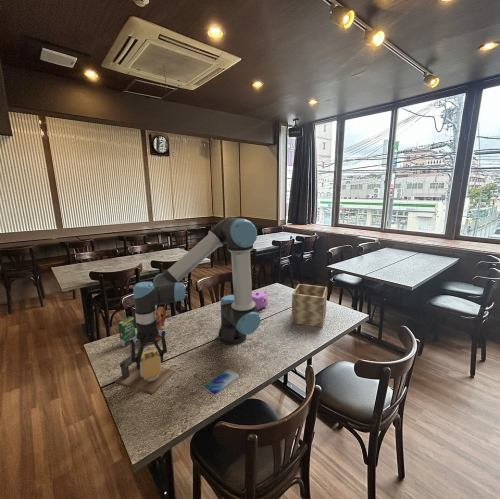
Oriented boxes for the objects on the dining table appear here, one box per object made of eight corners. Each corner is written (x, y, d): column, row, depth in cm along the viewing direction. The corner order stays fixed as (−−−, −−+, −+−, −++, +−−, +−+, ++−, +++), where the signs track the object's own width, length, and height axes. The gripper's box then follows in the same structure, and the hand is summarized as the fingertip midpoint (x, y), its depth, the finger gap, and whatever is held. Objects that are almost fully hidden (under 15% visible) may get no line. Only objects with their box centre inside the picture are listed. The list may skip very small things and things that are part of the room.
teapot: (267, 312, 175) (267, 296, 173) (247, 312, 176) (246, 296, 173) (267, 303, 190) (267, 288, 188) (248, 302, 191) (248, 288, 188)
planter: (325, 313, 172) (327, 287, 169) (322, 327, 155) (324, 298, 151) (297, 309, 179) (298, 283, 175) (291, 322, 161) (292, 293, 158)
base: (174, 372, 117) (173, 347, 115) (152, 394, 104) (150, 366, 102) (140, 362, 124) (137, 339, 121) (115, 382, 111) (112, 356, 109)
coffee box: (124, 347, 136) (121, 323, 133) (120, 346, 137) (117, 322, 134) (136, 339, 143) (134, 316, 140) (132, 338, 144) (130, 315, 142)
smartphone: (241, 375, 115) (215, 395, 103) (241, 377, 115) (215, 397, 103) (228, 367, 119) (202, 386, 108) (228, 369, 119) (202, 388, 108)
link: (160, 374, 112) (159, 356, 110) (144, 379, 108) (142, 361, 107) (152, 354, 125) (151, 339, 123) (137, 359, 122) (136, 343, 120)
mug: (158, 344, 139) (156, 317, 136) (144, 342, 140) (141, 315, 137) (171, 330, 153) (170, 305, 150) (158, 328, 154) (156, 304, 151)
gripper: (168, 311, 116) (171, 359, 121) (118, 322, 106) (124, 374, 111) (173, 318, 110) (176, 369, 114) (120, 331, 100) (126, 385, 104)
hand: (150, 371), depth 113 cm, fingers closed on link, 6 cm apart
